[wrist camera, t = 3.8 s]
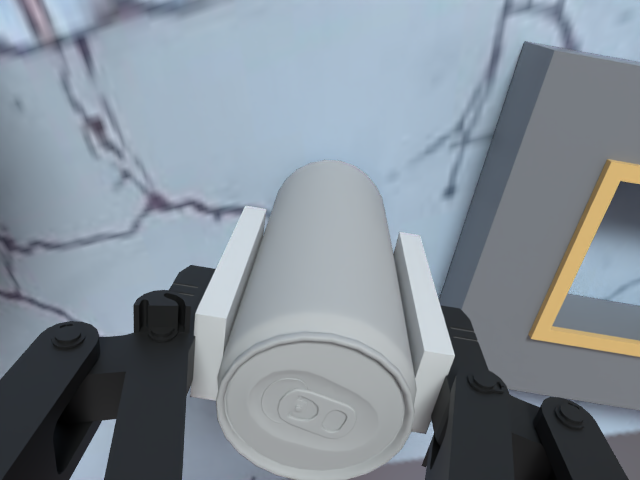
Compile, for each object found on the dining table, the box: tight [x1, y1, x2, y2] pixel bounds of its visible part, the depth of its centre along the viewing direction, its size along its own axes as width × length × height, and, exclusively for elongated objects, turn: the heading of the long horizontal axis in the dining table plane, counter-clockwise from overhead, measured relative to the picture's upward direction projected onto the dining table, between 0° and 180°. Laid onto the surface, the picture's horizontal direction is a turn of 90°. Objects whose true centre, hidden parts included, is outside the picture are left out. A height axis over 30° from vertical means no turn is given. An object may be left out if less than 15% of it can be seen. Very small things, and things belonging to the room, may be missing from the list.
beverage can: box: [216, 160, 417, 480], centre depth 17 cm, size 5×5×12 cm
